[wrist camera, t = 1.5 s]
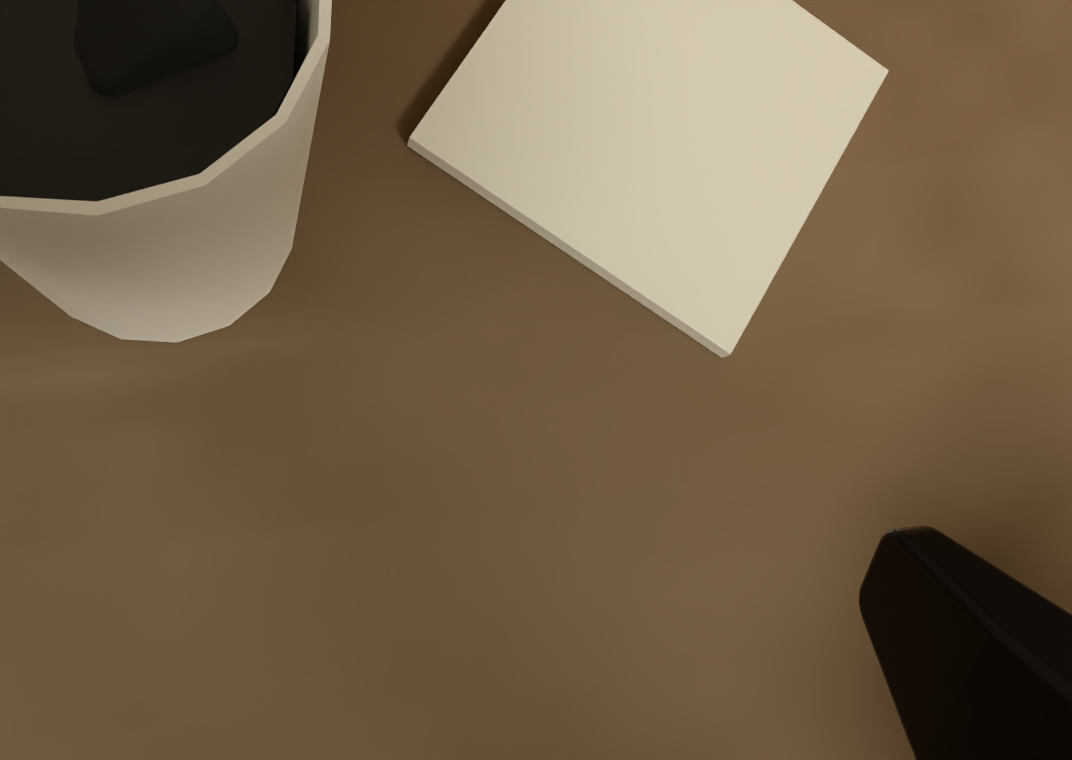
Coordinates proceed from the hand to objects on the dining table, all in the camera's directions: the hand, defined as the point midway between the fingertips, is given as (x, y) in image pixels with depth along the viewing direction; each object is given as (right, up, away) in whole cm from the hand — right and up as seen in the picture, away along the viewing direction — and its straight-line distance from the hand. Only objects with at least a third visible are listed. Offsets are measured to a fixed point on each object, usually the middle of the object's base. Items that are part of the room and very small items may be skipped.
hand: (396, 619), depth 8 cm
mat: (+4, +9, +17) cm, 20 cm away
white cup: (-7, +6, +14) cm, 17 cm away
